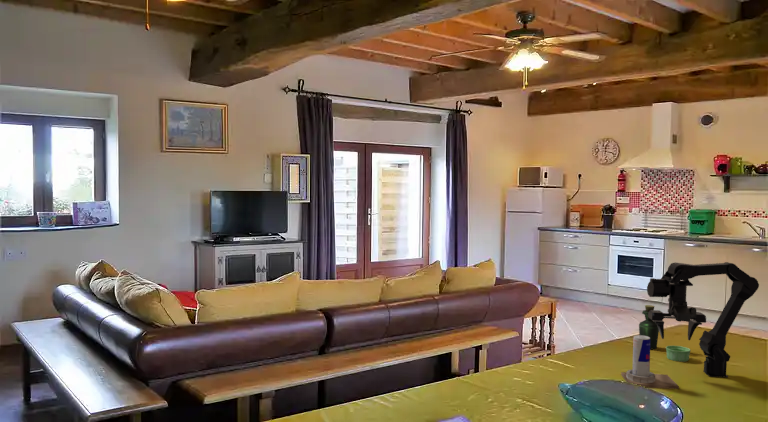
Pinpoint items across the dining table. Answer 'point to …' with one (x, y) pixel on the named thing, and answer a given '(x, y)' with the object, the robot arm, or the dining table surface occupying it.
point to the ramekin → (678, 353)
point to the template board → (657, 383)
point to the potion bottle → (649, 327)
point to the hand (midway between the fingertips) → (675, 339)
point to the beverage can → (641, 356)
